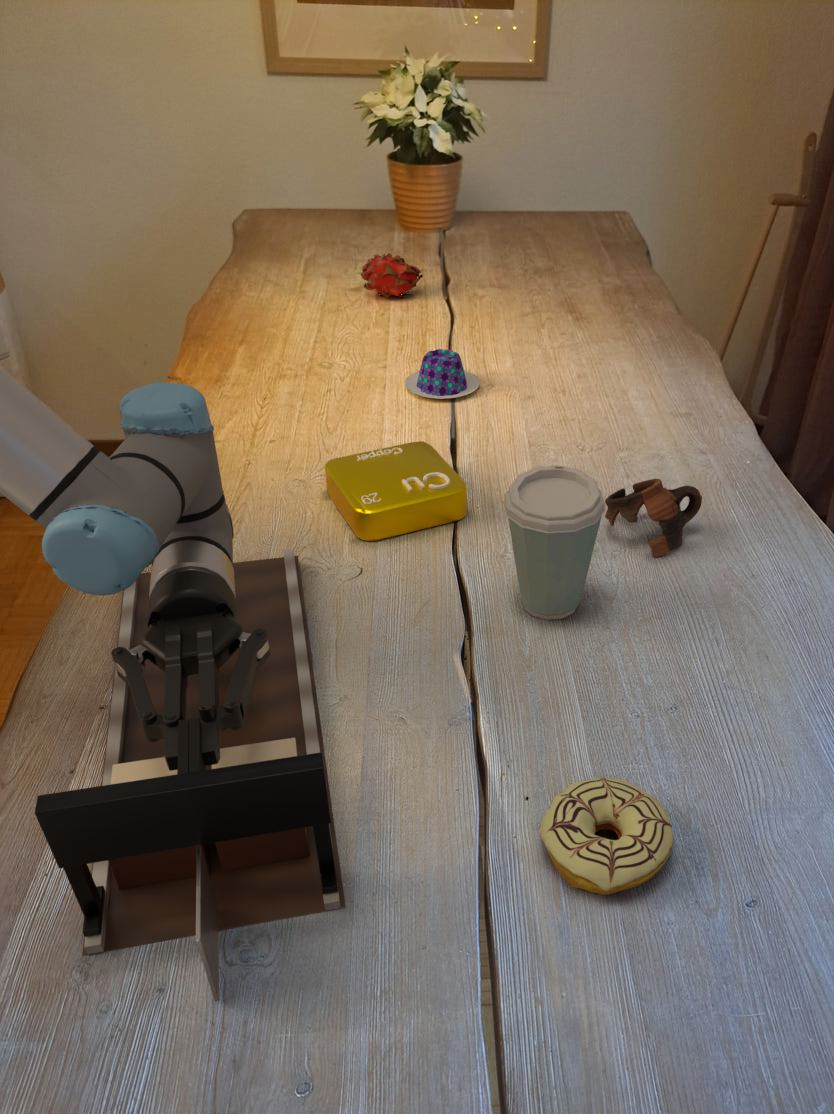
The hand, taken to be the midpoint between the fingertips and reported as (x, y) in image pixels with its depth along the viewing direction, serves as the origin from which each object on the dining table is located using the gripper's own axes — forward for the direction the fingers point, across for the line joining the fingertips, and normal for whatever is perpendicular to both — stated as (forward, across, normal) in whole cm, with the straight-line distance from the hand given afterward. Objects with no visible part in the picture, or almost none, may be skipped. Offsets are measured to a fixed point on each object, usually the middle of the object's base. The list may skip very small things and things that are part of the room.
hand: (191, 794), depth 67 cm
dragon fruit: (-135, -35, -13) cm, 140 cm away
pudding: (-91, -36, -13) cm, 99 cm away
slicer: (+5, 0, -11) cm, 12 cm away
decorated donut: (+2, -32, -13) cm, 34 cm away
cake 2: (-6, -4, -11) cm, 13 cm away
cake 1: (-6, +4, -11) cm, 14 cm away
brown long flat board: (-21, 0, -12) cm, 25 cm away
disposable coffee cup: (-32, -37, -13) cm, 50 cm away
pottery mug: (-43, -53, -13) cm, 70 cm away
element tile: (-57, -23, -13) cm, 63 cm away
